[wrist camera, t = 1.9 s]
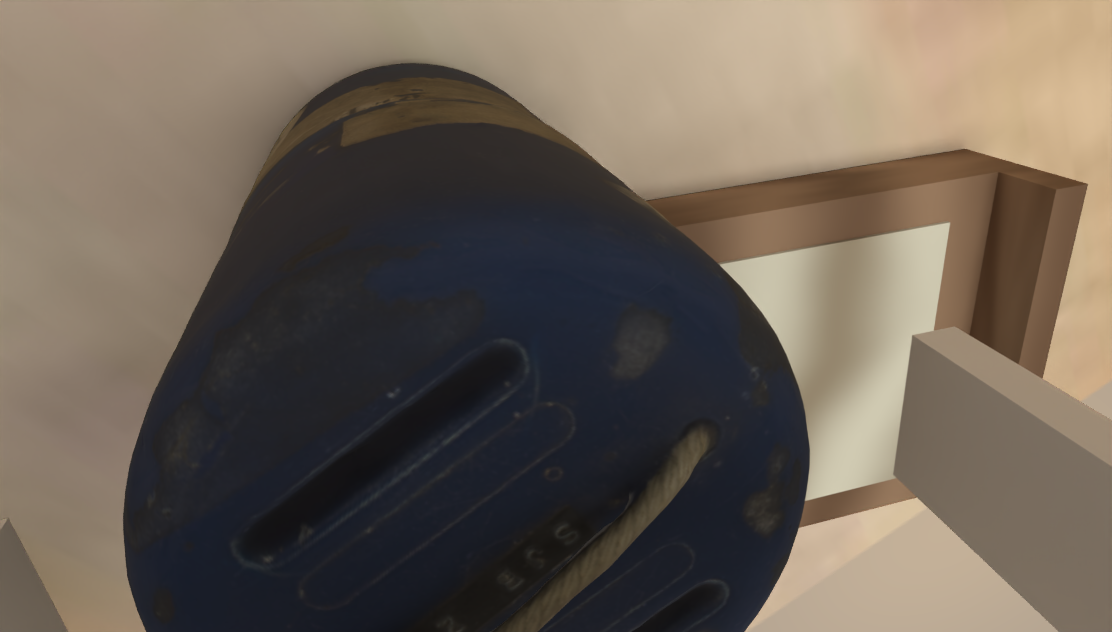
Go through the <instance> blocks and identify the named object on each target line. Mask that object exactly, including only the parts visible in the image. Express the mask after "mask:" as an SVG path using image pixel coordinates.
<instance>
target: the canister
mask: <svg viewBox="0 0 1112 632" xmlns="http://www.w3.org/2000/svg"><path fill="white" fill-rule="evenodd" d="M809 469H810V445H809V438H808V431H807V423H806V415H805V409H804V404H803V400H802V396H801V393H800V389H799V386H798V383H797V381H796V378H795V375H794V373H793V370H792V368H791V365H790V362H789V360H788V357H787V355H786V353H785V351H784V349H783V347H782V345H781V343H780V341H779V339H778V337H777V334H776V333H775V331H774V330H773V328H772V327H771V325H770V324H769V322H768V321H767V319H766V318H765V316H764V315H763V313H762V312H761V311H760V310H759V308H758V307H757V306H756V305H755V303H754V302H753V301H752V300H751V298H750V297H749V296H748V295H747V293H746V292H745V291H744V290H743V288H742V287H741V286H740V285H739V284H738V283H737V282H736V281H735V280H734V279H733V278H732V277H731V276H730V275H729V274H728V273H727V272H726V271H725V270H724V269H723V268H722V267H721V266H720V265H719V264H718V263H717V262H716V261H715V260H714V259H713V258H711V257H710V256H709V255H708V254H707V253H706V252H705V251H704V250H702V249H701V248H700V247H699V246H698V245H697V244H696V243H694V242H693V241H692V240H691V239H690V238H688V237H687V236H686V235H685V234H684V233H682V232H681V231H680V230H679V229H677V228H676V227H675V226H673V225H672V224H671V223H670V222H669V221H668V220H667V219H666V218H665V217H664V216H663V215H662V214H660V213H659V212H658V211H657V210H656V209H655V208H653V207H652V206H651V205H650V204H649V203H647V202H646V201H645V200H643V199H642V198H641V197H639V196H638V195H636V194H635V193H634V192H633V191H632V190H631V189H630V188H628V187H627V186H626V185H625V184H624V183H623V182H622V181H621V180H619V179H618V178H617V177H616V176H614V175H613V174H612V173H611V172H609V171H608V170H607V169H605V168H604V167H603V166H601V165H600V164H599V163H598V162H597V161H596V160H594V159H593V158H592V157H591V156H590V155H589V154H588V153H587V152H585V151H584V150H583V149H582V148H581V147H579V146H578V145H577V144H575V143H574V142H573V141H571V140H570V139H569V138H567V137H566V136H564V135H563V134H561V133H560V132H558V131H556V130H555V129H553V128H552V127H550V126H548V125H546V124H545V123H544V122H543V121H541V120H540V119H539V118H537V117H536V116H535V115H534V114H532V113H531V112H530V111H528V110H527V109H526V108H525V107H524V106H523V105H522V104H520V103H519V102H517V101H516V100H515V99H514V98H512V97H511V96H509V95H508V94H507V93H505V92H504V91H502V90H501V89H499V88H498V87H496V86H494V85H493V84H491V83H489V82H487V81H485V80H483V79H481V78H479V77H477V76H474V75H471V74H469V73H466V72H463V71H460V70H456V69H453V68H448V67H444V66H438V65H430V64H416V63H408V64H394V65H388V66H382V67H377V68H373V69H369V70H365V71H362V72H359V73H357V74H354V75H352V76H350V77H347V78H345V79H343V80H341V81H339V82H338V83H336V84H334V85H332V86H331V87H329V88H328V89H326V90H325V91H323V92H321V93H320V94H318V95H317V96H316V97H315V98H313V99H312V100H311V101H310V102H309V103H308V104H306V105H305V106H304V107H303V108H302V109H301V110H300V111H299V112H298V113H297V115H296V116H295V117H294V118H293V119H292V120H291V121H290V123H289V124H288V125H287V126H286V127H285V129H284V130H283V131H282V133H281V135H280V136H279V138H278V140H277V141H276V143H275V145H274V147H273V148H272V150H271V152H270V155H269V157H268V159H267V161H266V162H265V164H264V166H263V168H262V170H261V171H260V173H259V175H258V177H257V179H256V182H255V184H254V186H253V188H252V191H251V193H250V194H249V196H248V198H247V199H246V201H245V203H244V205H243V207H242V210H241V212H240V214H239V217H238V219H237V222H236V224H235V226H234V228H233V231H232V234H231V236H230V239H229V242H228V244H227V246H226V249H225V250H224V252H223V254H222V256H221V258H220V260H219V262H218V264H217V266H216V267H215V269H214V272H213V274H212V276H211V278H210V280H209V282H208V284H207V286H206V288H205V290H204V292H203V294H202V296H201V298H200V300H199V302H198V304H197V306H196V308H195V310H194V312H193V314H192V316H191V318H190V320H189V322H188V324H187V326H186V329H185V331H184V333H183V335H182V337H181V339H180V341H179V343H178V345H177V347H176V349H175V351H174V353H173V355H172V357H171V359H170V361H169V363H168V364H167V367H166V369H165V371H164V373H163V375H162V377H161V379H160V381H159V383H158V386H157V387H156V389H155V392H154V394H153V396H152V399H151V401H150V404H149V407H148V409H147V412H146V415H145V418H144V421H143V424H142V427H141V430H140V433H139V436H138V439H137V442H136V445H135V448H134V451H133V455H132V459H131V463H130V467H129V472H128V478H127V485H126V491H125V502H124V513H123V531H124V544H125V557H126V567H127V576H128V581H129V585H130V588H131V591H132V595H133V598H134V601H135V604H136V607H137V610H138V613H139V615H140V618H141V620H142V622H143V625H144V627H145V630H146V632H745V630H746V629H747V627H748V626H749V625H750V623H751V622H752V621H753V620H754V618H755V617H756V616H757V614H758V613H759V611H760V610H761V608H762V606H763V605H764V603H765V602H766V600H767V599H768V597H769V595H770V593H771V592H772V590H773V588H774V586H775V584H776V583H777V581H778V579H779V577H780V575H781V573H782V571H783V569H784V567H785V565H786V563H787V561H788V559H789V556H790V553H791V550H792V547H793V543H794V540H795V537H796V534H797V531H798V528H799V525H800V522H801V518H802V513H803V509H804V504H805V498H806V492H807V485H808V477H809Z"/></svg>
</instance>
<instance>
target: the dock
mask: <svg viewBox="0 0 1112 632" xmlns="http://www.w3.org/2000/svg"><path fill="white" fill-rule="evenodd" d="M1087 185H1088V184H1086V183H1083V182H1079V181H1076V180H1072V179H1069V178H1065V177H1062V176H1058V175H1055V174H1051V173H1048V172H1044V171H1041V170H1037V169H1034V168H1030V167H1027V166H1023V165H1019V164H1016V163H1012V162H1009V161H1005V160H1002V159H998V158H995V157H991V156H988V155H984V154H981V153H977V152H974V151H970V150H967V149H963V150H957V151H951V152H945V153H939V154H933V155H926V156H920V157H914V158H908V159H902V160H896V161H889V162H883V163H877V164H871V165H865V166H859V167H852V168H846V169H840V170H834V171H828V172H822V173H816V174H809V175H803V176H797V177H791V178H785V179H779V180H772V181H766V182H760V183H754V184H748V185H742V186H736V187H729V188H723V189H717V190H711V191H705V192H699V193H692V194H686V195H680V196H674V197H668V198H662V199H656V200H649V201H646V202H647V203H649V204H650V205H651V206H652V207H653V208H655V209H656V210H657V211H658V212H659V213H660V214H662V215H663V216H664V217H665V218H666V219H667V220H668V221H669V222H670V223H671V224H672V225H673V226H675V227H676V228H677V229H679V230H680V231H681V232H682V233H684V234H685V235H686V236H687V237H688V238H690V239H691V240H692V241H693V242H694V243H696V244H697V245H698V246H699V247H700V248H701V249H702V250H704V251H705V252H706V253H707V254H708V255H709V256H710V257H711V258H713V259H714V260H715V261H716V262H717V263H718V264H719V265H720V266H721V267H722V268H723V269H724V270H725V271H726V272H727V273H728V274H729V275H730V276H731V277H732V278H733V279H734V280H735V281H736V282H737V283H738V284H739V285H740V286H741V287H742V288H743V290H744V291H745V292H746V293H747V295H748V296H749V297H750V298H751V300H752V301H753V302H754V303H755V305H756V306H757V307H758V308H759V310H760V311H761V312H762V313H763V315H764V316H765V318H766V319H767V321H768V322H769V324H770V325H771V327H772V328H773V330H774V331H775V333H776V334H777V337H778V339H779V341H780V343H781V345H782V347H783V349H784V351H785V353H786V355H787V357H788V360H789V362H790V365H791V368H792V370H793V373H794V375H795V378H796V381H797V383H798V386H799V389H800V393H801V396H802V400H803V404H804V409H805V415H806V423H807V431H808V438H809V445H810V469H809V477H808V485H807V492H806V498H805V504H804V509H803V513H802V518H801V522H800V525H799V528H800V527H804V526H808V525H811V524H815V523H819V522H823V521H827V520H831V519H835V518H839V517H843V516H846V515H850V514H854V513H858V512H862V511H866V510H870V509H874V508H878V507H882V506H885V505H889V504H893V503H897V502H901V501H905V500H909V499H913V498H917V497H916V496H915V495H914V494H913V493H912V492H911V491H910V490H909V489H908V488H907V487H906V486H905V485H904V484H903V483H902V482H901V481H899V480H898V479H897V478H896V477H895V476H894V475H893V471H894V464H895V457H896V450H897V442H898V435H899V428H900V421H901V414H902V406H903V399H904V392H905V385H906V377H907V370H908V363H909V356H910V349H911V341H912V335H915V334H920V333H925V332H930V331H935V330H940V329H945V328H950V327H956V328H958V329H960V330H961V331H963V332H965V333H966V334H968V335H970V336H972V337H973V338H975V339H977V340H978V341H980V342H982V343H983V344H985V345H987V346H988V347H990V348H992V349H993V350H995V351H997V352H998V353H1000V354H1002V355H1003V356H1005V357H1007V358H1008V359H1010V360H1012V361H1013V362H1015V363H1017V364H1018V365H1020V366H1022V367H1023V368H1025V369H1027V370H1028V371H1030V372H1032V373H1033V374H1035V375H1037V376H1038V377H1040V378H1043V374H1044V370H1045V365H1046V361H1047V357H1048V352H1049V348H1050V344H1051V340H1052V335H1053V331H1054V327H1055V322H1056V318H1057V314H1058V310H1059V305H1060V301H1061V297H1062V293H1063V288H1064V284H1065V280H1066V275H1067V271H1068V267H1069V263H1070V258H1071V254H1072V250H1073V245H1074V241H1075V237H1076V233H1077V228H1078V224H1079V220H1080V215H1081V211H1082V207H1083V203H1084V198H1085V194H1086V190H1087Z"/></svg>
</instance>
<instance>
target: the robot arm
mask: <svg viewBox="0 0 1112 632" xmlns="http://www.w3.org/2000/svg"><path fill="white" fill-rule="evenodd" d="M893 475H894V476H895V477H896V478H897V479H898V480H899V481H901V482H902V483H903V484H904V485H905V486H906V487H907V488H908V489H909V490H910V491H911V492H912V493H913V494H914V495H915V496H916V497H917V498H918V499H920V500H921V501H922V502H923V503H924V504H925V505H926V506H927V507H928V508H929V509H930V510H931V511H932V512H933V513H934V514H935V515H936V516H937V517H938V518H940V519H941V520H942V521H943V522H944V523H945V524H946V525H947V526H948V527H949V528H950V529H951V530H952V531H953V532H954V533H956V535H958V536H959V537H960V538H961V539H962V540H963V541H964V542H965V543H966V544H967V545H968V546H969V547H970V548H971V549H972V550H974V552H975V553H977V554H978V555H979V556H980V557H981V558H982V559H983V560H984V561H985V562H986V563H987V564H988V565H989V566H990V567H991V568H992V569H993V570H995V572H996V573H998V574H999V575H1000V576H1001V577H1002V578H1003V579H1004V580H1005V581H1006V582H1007V583H1008V584H1009V585H1010V586H1011V587H1012V588H1013V589H1015V590H1016V591H1017V592H1018V593H1019V594H1020V595H1021V596H1022V597H1023V598H1024V599H1025V600H1026V601H1027V602H1028V603H1029V604H1030V605H1031V606H1032V607H1033V608H1034V609H1036V610H1037V611H1038V612H1039V613H1040V614H1041V615H1042V616H1043V617H1044V618H1045V619H1046V620H1047V621H1048V622H1049V623H1050V624H1051V625H1052V626H1053V627H1055V628H1056V629H1057V630H1058V631H1059V632H1112V420H1110V419H1109V418H1107V417H1105V416H1104V415H1102V414H1100V413H1099V412H1097V411H1095V410H1094V409H1092V408H1090V407H1089V406H1087V405H1085V404H1084V403H1082V402H1080V401H1079V400H1077V399H1075V398H1074V397H1072V396H1070V395H1069V394H1067V393H1065V392H1064V391H1062V390H1060V389H1059V388H1057V387H1055V386H1054V385H1052V384H1050V383H1049V382H1047V381H1045V380H1043V379H1042V378H1040V377H1038V376H1037V375H1035V374H1033V373H1032V372H1030V371H1028V370H1027V369H1025V368H1023V367H1022V366H1020V365H1018V364H1017V363H1015V362H1013V361H1012V360H1010V359H1008V358H1007V357H1005V356H1003V355H1002V354H1000V353H998V352H997V351H995V350H993V349H992V348H990V347H988V346H987V345H985V344H983V343H982V342H980V341H978V340H977V339H975V338H973V337H972V336H970V335H968V334H966V333H965V332H963V331H961V330H960V329H958V328H956V327H950V328H945V329H940V330H935V331H930V332H925V333H920V334H915V335H912V341H911V349H910V356H909V363H908V370H907V377H906V385H905V392H904V399H903V406H902V414H901V421H900V428H899V435H898V442H897V450H896V457H895V464H894V471H893ZM0 632H68V631H67V629H66V627H65V625H64V623H63V621H62V619H61V617H60V615H59V613H58V612H57V610H56V608H55V606H54V604H53V602H52V600H51V598H50V596H49V594H48V593H47V591H46V589H45V587H44V585H43V583H42V581H41V579H40V577H39V575H38V574H37V572H36V570H35V568H34V566H33V564H32V562H31V560H30V558H29V556H28V555H27V553H26V551H25V549H24V547H23V545H22V543H21V541H20V539H19V537H18V536H17V534H16V532H15V530H14V528H13V526H12V524H11V522H10V520H9V518H6V519H2V520H0Z"/></svg>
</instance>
